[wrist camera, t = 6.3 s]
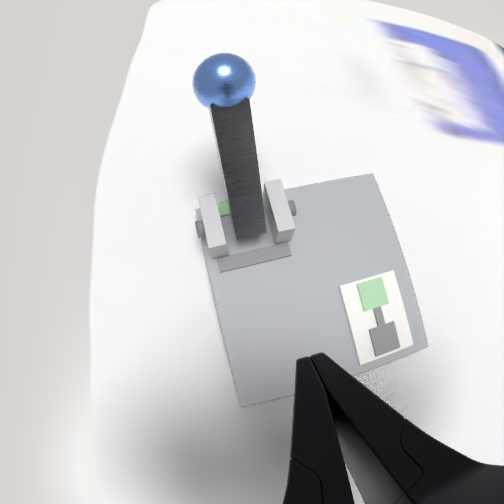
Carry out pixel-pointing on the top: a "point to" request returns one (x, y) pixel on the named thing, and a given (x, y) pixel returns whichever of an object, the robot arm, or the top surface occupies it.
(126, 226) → the top surface
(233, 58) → the lever
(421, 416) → the top surface
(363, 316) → the switch panel
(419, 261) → the top surface
